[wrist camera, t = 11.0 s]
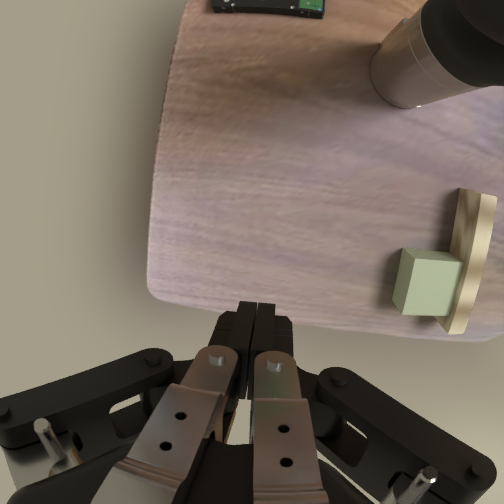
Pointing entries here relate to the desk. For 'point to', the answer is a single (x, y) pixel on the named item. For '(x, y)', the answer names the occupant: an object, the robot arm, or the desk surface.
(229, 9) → the disk drive
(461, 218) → the stop board
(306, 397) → the robot arm
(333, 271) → the desk surface
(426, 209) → the desk surface
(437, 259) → the sage block
